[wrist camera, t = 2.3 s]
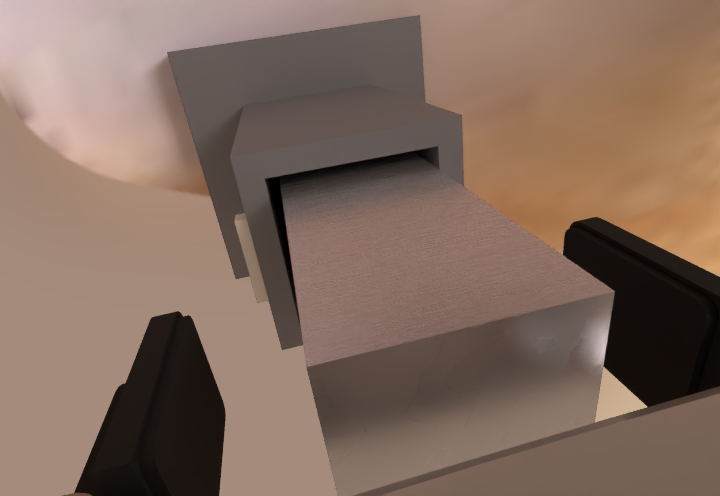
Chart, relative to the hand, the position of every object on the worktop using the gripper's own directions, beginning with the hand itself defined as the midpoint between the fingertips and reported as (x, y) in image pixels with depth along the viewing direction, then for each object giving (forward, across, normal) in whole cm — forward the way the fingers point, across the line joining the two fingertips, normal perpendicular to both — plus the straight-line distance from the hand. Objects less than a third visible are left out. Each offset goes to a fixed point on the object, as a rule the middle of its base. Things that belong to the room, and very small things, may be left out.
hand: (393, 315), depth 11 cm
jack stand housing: (+18, 0, 0) cm, 18 cm away
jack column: (+16, 0, 0) cm, 16 cm away
